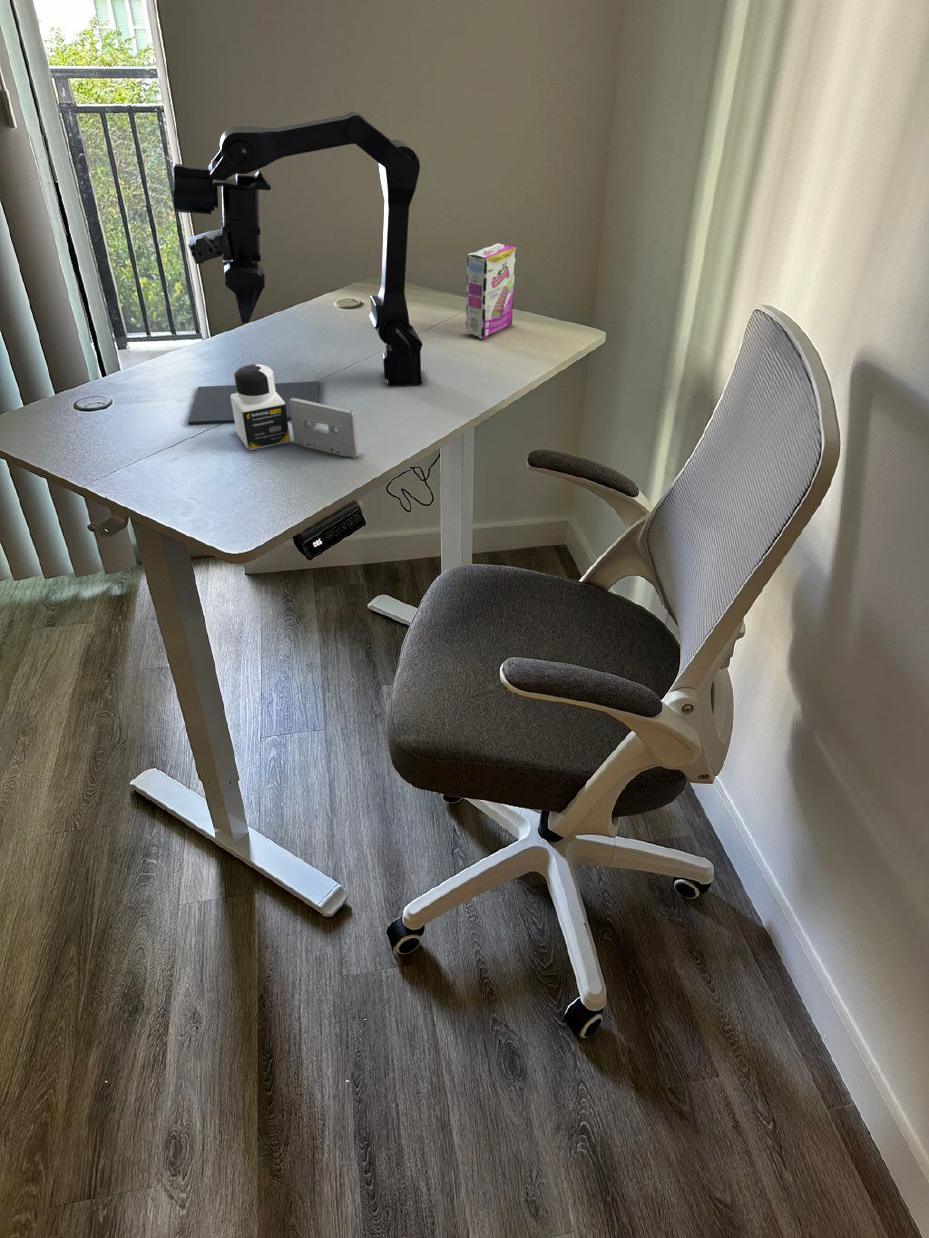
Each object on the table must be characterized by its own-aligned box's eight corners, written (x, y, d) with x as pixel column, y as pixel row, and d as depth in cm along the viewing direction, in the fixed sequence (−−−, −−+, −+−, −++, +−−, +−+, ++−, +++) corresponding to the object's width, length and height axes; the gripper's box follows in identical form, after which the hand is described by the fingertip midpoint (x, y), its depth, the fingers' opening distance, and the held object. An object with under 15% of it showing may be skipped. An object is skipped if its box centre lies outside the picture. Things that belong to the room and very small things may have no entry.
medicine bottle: (248, 451, 139) (236, 380, 131) (236, 434, 144) (224, 364, 136) (290, 442, 141) (281, 372, 134) (277, 425, 146) (267, 357, 139)
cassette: (360, 454, 138) (357, 410, 133) (354, 459, 137) (350, 415, 132) (298, 439, 142) (293, 396, 137) (292, 444, 141) (286, 400, 136)
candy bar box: (484, 340, 178) (486, 258, 168) (465, 335, 181) (465, 254, 170) (514, 325, 185) (517, 245, 175) (494, 321, 188) (496, 241, 178)
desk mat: (319, 384, 160) (318, 381, 160) (318, 418, 149) (317, 415, 148) (199, 389, 158) (198, 386, 158) (188, 425, 146) (187, 421, 146)
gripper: (189, 199, 144) (194, 294, 153) (188, 227, 130) (195, 330, 139) (257, 205, 147) (258, 297, 156) (264, 233, 132) (265, 333, 142)
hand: (243, 313), depth 148 cm, fingers open, 9 cm apart
